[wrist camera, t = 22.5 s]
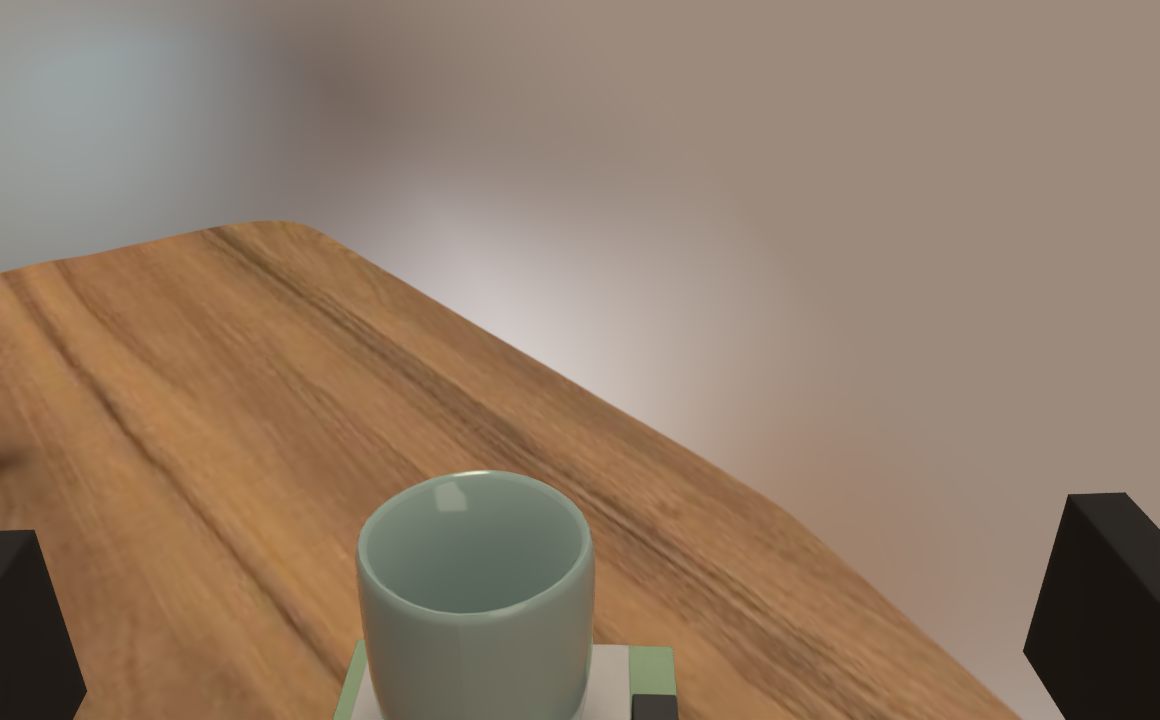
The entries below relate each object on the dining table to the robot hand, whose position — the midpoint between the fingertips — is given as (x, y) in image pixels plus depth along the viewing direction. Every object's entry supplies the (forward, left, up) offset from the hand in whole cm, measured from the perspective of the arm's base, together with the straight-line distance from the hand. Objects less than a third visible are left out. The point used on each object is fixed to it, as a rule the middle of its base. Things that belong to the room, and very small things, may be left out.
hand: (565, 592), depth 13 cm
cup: (+4, -16, -22) cm, 27 cm away
